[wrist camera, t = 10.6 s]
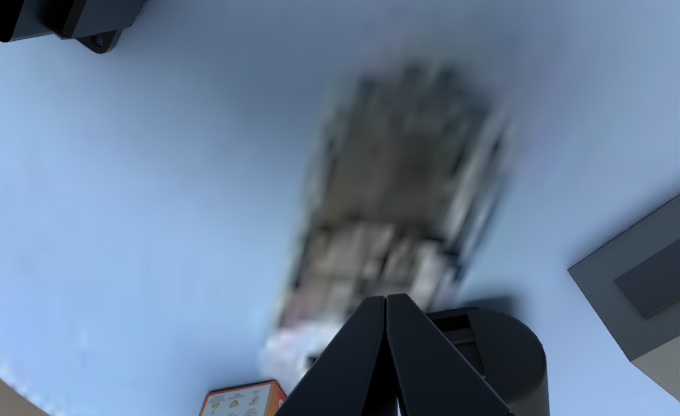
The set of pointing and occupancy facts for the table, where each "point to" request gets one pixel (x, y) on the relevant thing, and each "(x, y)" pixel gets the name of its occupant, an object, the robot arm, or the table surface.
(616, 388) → the table surface
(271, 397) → the cracker box
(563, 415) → the table surface
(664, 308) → the block
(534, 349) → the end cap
